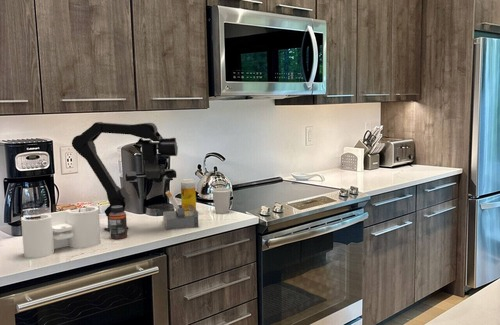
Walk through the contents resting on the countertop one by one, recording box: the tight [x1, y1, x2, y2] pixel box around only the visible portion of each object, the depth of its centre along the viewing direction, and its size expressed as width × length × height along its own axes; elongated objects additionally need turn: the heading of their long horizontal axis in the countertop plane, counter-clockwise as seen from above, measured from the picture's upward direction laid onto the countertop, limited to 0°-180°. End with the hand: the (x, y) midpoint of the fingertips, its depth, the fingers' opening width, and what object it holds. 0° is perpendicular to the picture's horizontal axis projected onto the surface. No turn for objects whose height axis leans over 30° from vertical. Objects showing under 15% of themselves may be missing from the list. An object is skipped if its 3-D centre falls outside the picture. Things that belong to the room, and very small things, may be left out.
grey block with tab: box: [162, 204, 199, 231], centre depth 193 cm, size 12×14×7 cm
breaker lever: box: [165, 190, 179, 213], centre depth 192 cm, size 2×5×9 cm, turn 15°
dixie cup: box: [211, 187, 232, 215], centre depth 213 cm, size 8×8×10 cm
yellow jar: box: [180, 178, 197, 210], centre depth 210 cm, size 6×6×15 cm
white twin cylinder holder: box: [20, 205, 102, 259], centre depth 163 cm, size 25×10×12 cm, turn 133°
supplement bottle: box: [109, 205, 128, 240], centre depth 176 cm, size 6×6×11 cm
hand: (151, 197), depth 186 cm, fingers open, 9 cm apart
